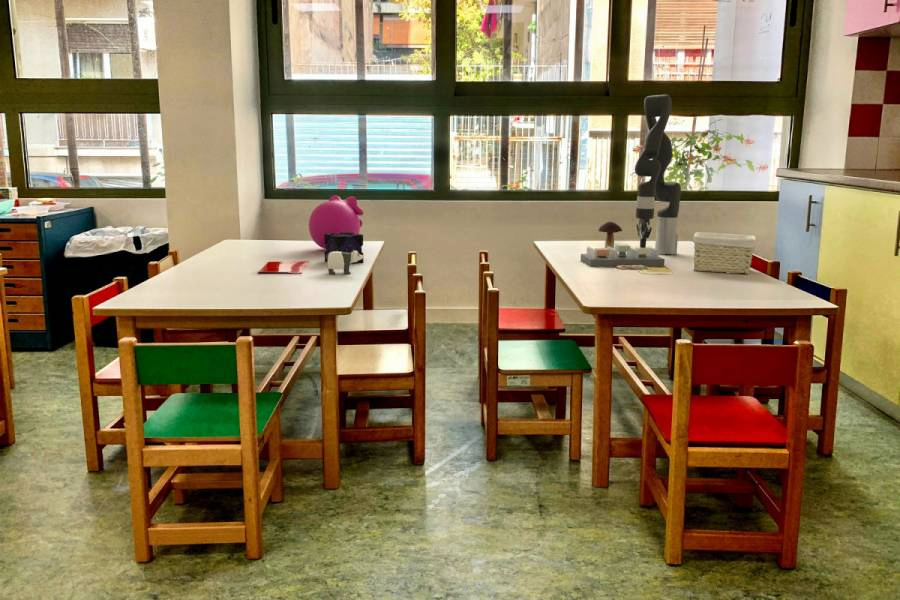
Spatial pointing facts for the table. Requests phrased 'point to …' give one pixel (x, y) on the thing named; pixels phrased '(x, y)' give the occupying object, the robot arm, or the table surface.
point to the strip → (631, 267)
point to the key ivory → (643, 251)
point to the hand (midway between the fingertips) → (642, 247)
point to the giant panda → (342, 260)
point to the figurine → (334, 218)
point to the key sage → (622, 249)
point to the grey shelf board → (622, 258)
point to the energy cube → (343, 243)
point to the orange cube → (602, 252)
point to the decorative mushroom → (610, 232)
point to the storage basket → (723, 252)
